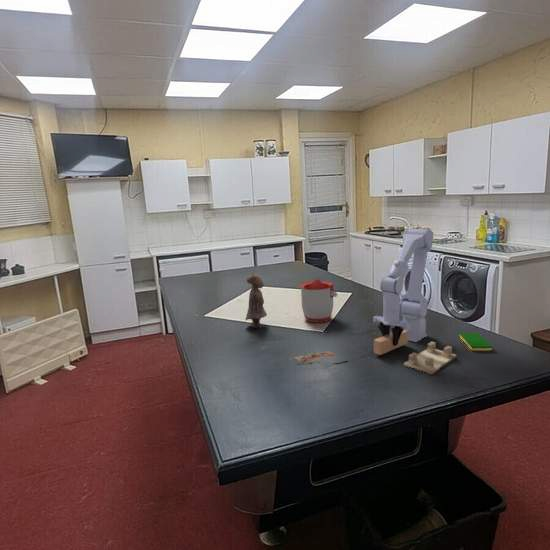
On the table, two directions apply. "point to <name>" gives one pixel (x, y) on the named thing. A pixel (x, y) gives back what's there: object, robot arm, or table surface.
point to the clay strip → (389, 343)
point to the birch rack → (430, 358)
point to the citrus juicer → (317, 300)
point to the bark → (313, 356)
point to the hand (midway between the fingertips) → (391, 343)
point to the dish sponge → (475, 341)
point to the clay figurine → (255, 301)
